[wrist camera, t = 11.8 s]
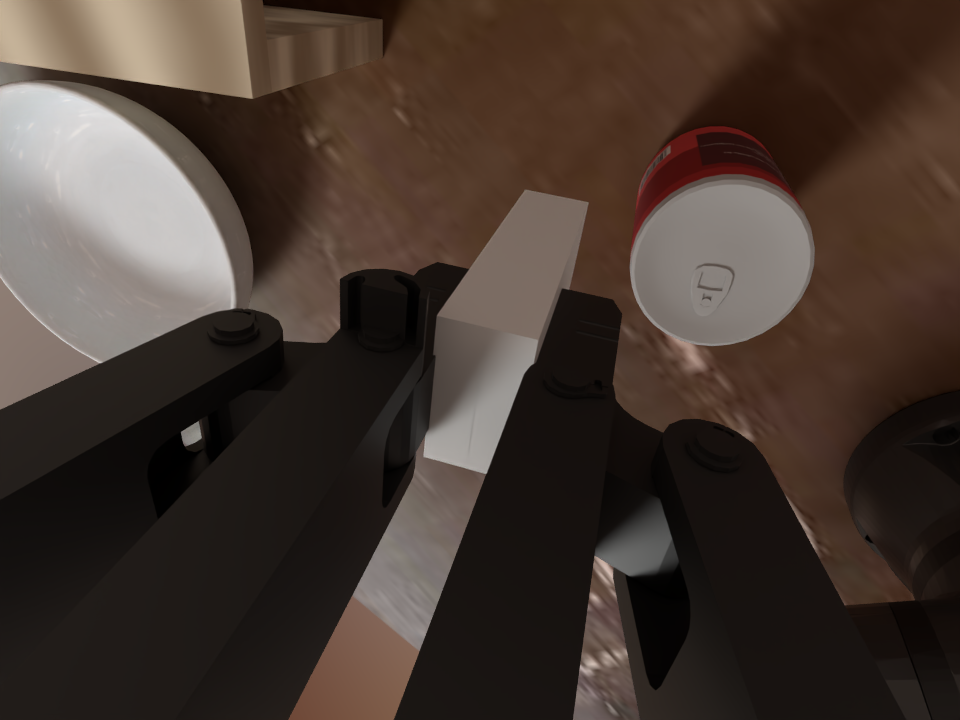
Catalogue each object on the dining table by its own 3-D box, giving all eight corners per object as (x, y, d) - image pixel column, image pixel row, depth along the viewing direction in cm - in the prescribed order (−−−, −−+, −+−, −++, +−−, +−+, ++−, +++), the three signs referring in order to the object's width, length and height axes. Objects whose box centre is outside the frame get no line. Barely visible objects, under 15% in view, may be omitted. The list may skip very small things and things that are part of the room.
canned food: (642, 263, 39) (636, 352, 30) (631, 135, 35) (620, 192, 26) (774, 250, 36) (811, 343, 27) (778, 110, 32) (822, 164, 23)
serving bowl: (-7, 60, 43) (-109, 73, 37) (259, 72, 38) (189, 90, 33) (93, 319, 54) (27, 360, 48) (307, 351, 50) (262, 400, 44)
